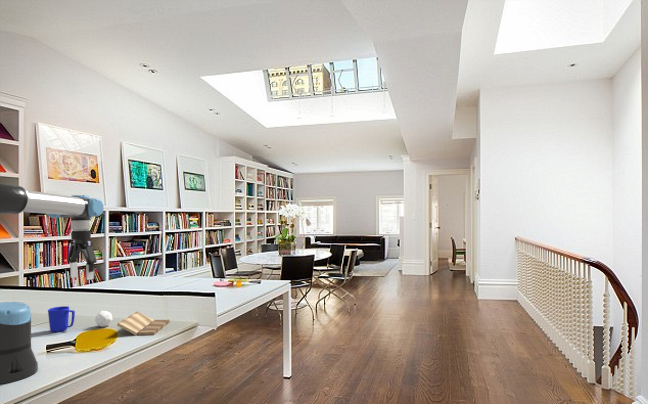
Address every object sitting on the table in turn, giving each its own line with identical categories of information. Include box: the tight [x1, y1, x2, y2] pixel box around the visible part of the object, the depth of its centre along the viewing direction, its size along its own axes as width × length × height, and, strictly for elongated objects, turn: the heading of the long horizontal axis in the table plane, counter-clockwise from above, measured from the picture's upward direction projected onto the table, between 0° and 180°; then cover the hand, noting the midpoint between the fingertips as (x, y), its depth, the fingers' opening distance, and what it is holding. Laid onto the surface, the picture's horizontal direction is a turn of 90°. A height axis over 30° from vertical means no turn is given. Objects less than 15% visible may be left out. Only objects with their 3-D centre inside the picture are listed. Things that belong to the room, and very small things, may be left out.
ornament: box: [94, 310, 113, 328], centre depth 199 cm, size 7×7×8 cm
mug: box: [47, 305, 76, 333], centre depth 194 cm, size 8×12×10 cm
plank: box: [116, 310, 155, 336], centre depth 193 cm, size 20×9×1 cm, turn 1°
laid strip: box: [136, 319, 171, 336], centre depth 193 cm, size 20×8×1 cm, turn 1°
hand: (82, 278), depth 189 cm, fingers open, 13 cm apart
